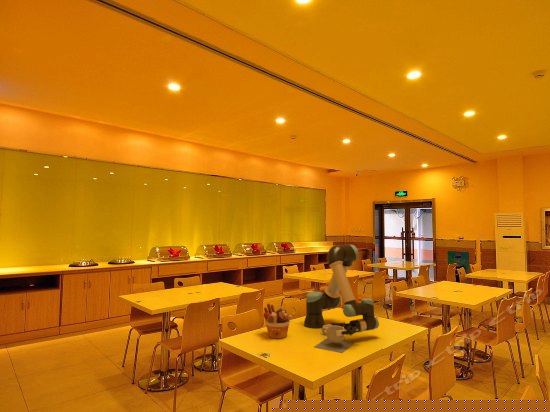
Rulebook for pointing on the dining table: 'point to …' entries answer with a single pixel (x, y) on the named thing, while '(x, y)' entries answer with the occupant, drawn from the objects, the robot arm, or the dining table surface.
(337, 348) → the placemat
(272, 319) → the bucket of meat
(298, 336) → the dining table surface
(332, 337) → the teacup
